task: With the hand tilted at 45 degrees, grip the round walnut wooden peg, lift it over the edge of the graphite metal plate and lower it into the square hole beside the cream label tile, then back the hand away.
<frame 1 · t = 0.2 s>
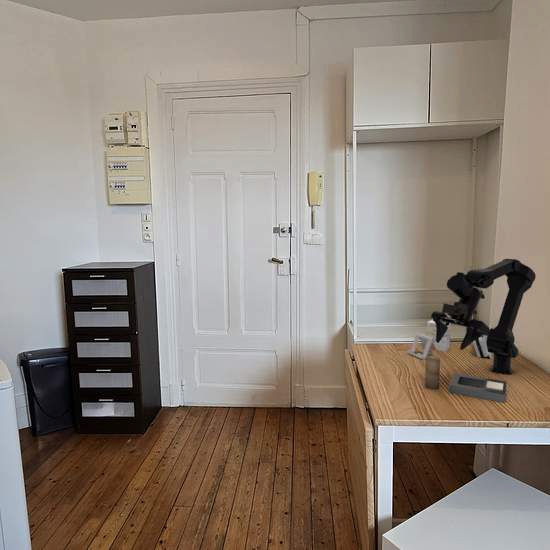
hand: (448, 345, 136), 14 cm above the table, tool tilted 35°, fingers open, 9 cm apart
hole plate: (477, 390, 135), on the table
portable electronic device stand: (421, 356, 171), on the table
walnut peg: (432, 386, 139), on the table
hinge: (481, 353, 174), on the table
ink cartridge box: (437, 348, 180), on the table
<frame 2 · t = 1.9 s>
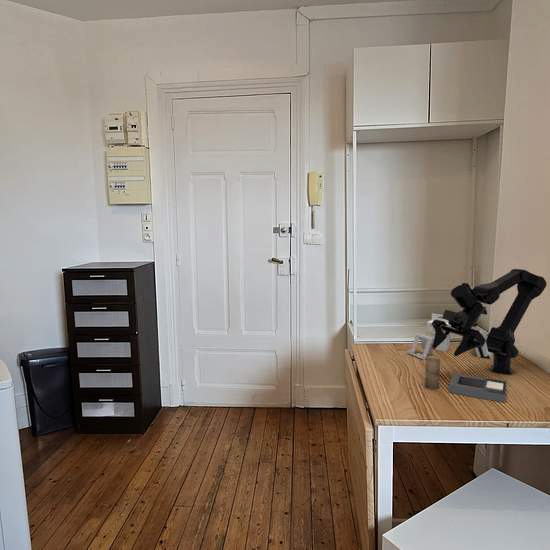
hand: (443, 351, 140), 11 cm above the table, tool tilted 45°, fingers open, 9 cm apart
nothing on the table moved.
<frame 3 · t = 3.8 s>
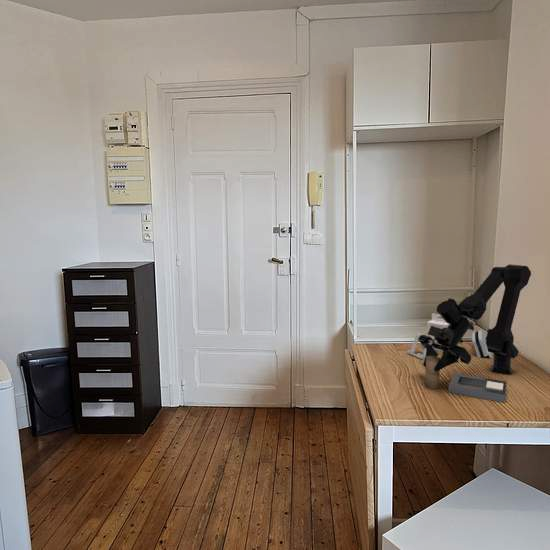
hand: (429, 368, 138), 7 cm above the table, tool tilted 45°, fingers closed on walnut peg, 4 cm apart
walnut peg: (431, 386, 139), on the table, touching gripper
everything else where it was.
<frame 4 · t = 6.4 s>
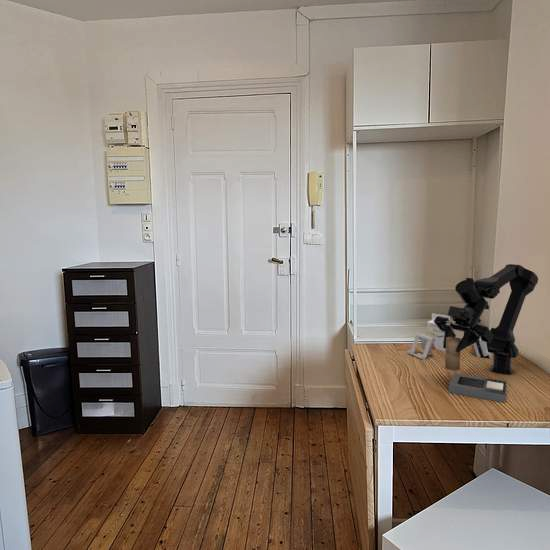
hand: (450, 349, 135), 14 cm above the table, tool tilted 45°, fingers closed on walnut peg, 4 cm apart
walnut peg: (452, 368, 137), point 7 cm above the table, touching gripper
everything else where it was.
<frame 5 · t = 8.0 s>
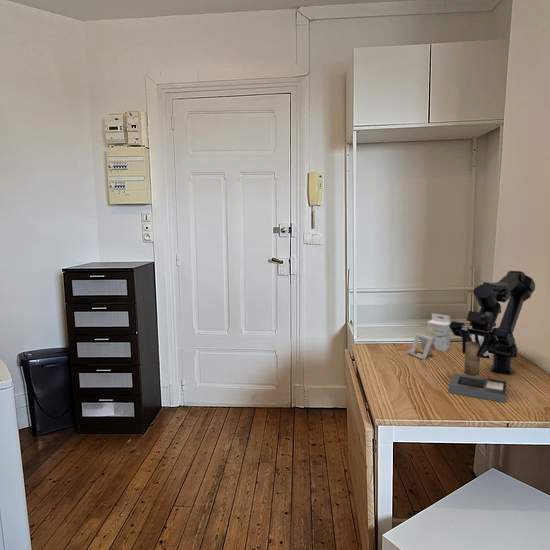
hand: (470, 354, 134), 12 cm above the table, tool tilted 45°, fingers closed on walnut peg, 4 cm apart
walnut peg: (471, 373, 136), point 6 cm above the table, touching gripper
everything else where it was.
when the fingers open (8 cm above the table, at t = 9.2 s): walnut peg drops 1 cm, resting in hole plate.
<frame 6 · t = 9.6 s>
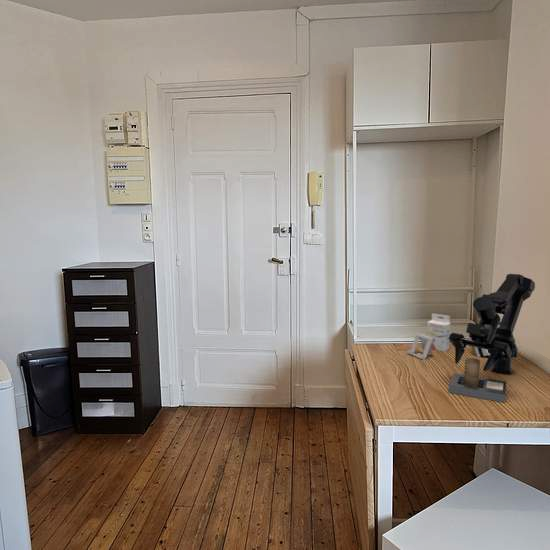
hand: (469, 366, 134), 8 cm above the table, tool tilted 45°, fingers open, 9 cm apart
walnut peg: (471, 389, 136), resting in hole plate
everything else where it was.
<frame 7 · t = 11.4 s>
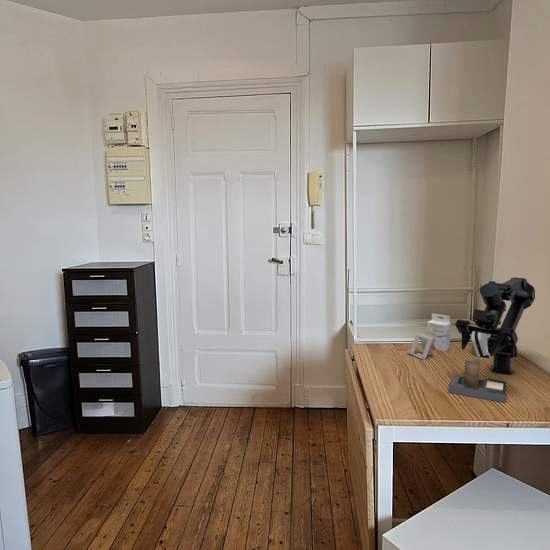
hand: (476, 352, 136), 12 cm above the table, tool tilted 45°, fingers open, 9 cm apart
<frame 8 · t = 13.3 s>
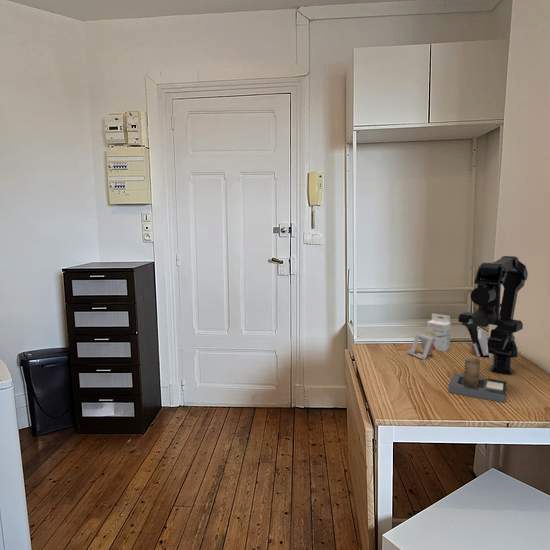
hand: (487, 346, 140), 13 cm above the table, tool pointing down, fingers open, 9 cm apart
at the end: walnut peg 0.1 cm from the target spot on the hole plate, point 0.0 cm above the hole plate's base; walnut peg tilted 0°; the gripper is holding nothing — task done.
